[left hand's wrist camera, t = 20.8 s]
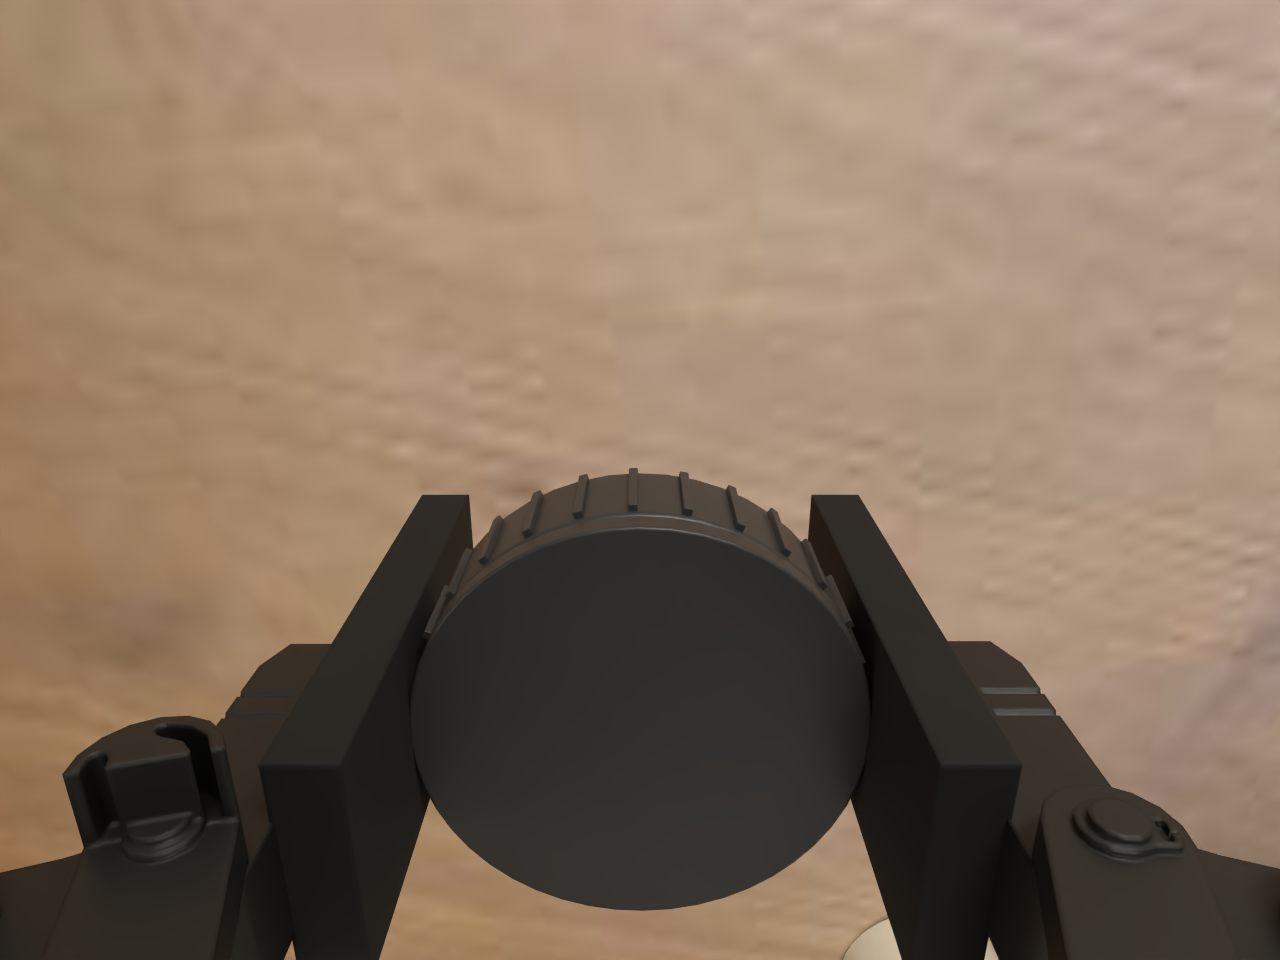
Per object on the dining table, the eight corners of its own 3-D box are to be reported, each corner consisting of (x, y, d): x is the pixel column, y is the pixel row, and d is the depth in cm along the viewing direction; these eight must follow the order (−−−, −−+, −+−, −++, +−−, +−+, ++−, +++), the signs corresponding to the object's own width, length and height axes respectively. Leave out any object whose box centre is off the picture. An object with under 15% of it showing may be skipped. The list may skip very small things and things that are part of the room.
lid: (482, 840, 13) (459, 937, 12) (389, 497, 11) (347, 557, 10) (857, 797, 13) (888, 890, 11) (833, 437, 11) (866, 489, 9)
